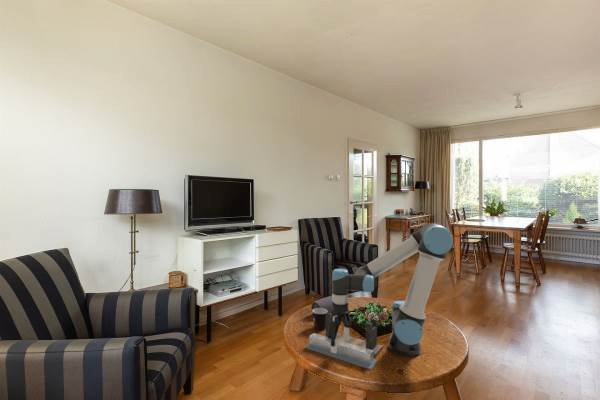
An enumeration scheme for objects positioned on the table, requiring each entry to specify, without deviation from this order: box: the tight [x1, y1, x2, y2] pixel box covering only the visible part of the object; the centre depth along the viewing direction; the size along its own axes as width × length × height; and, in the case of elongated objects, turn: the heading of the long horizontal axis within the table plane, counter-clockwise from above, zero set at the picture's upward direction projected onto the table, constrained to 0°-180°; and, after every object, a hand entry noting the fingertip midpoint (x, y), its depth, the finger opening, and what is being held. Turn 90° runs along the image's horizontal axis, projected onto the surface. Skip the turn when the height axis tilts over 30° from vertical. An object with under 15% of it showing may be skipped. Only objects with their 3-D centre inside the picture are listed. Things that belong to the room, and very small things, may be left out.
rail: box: [308, 332, 375, 366], centre depth 147 cm, size 32×4×5 cm, turn 56°
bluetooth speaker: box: [310, 295, 333, 314], centre depth 199 cm, size 23×9×10 cm, turn 130°
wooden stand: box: [322, 309, 384, 358], centre depth 157 cm, size 30×10×14 cm, turn 56°
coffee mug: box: [311, 308, 328, 332], centre depth 177 cm, size 12×9×10 cm
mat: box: [304, 344, 378, 371], centre depth 147 cm, size 34×8×1 cm, turn 56°
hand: (340, 346), depth 147 cm, fingers open, 13 cm apart
